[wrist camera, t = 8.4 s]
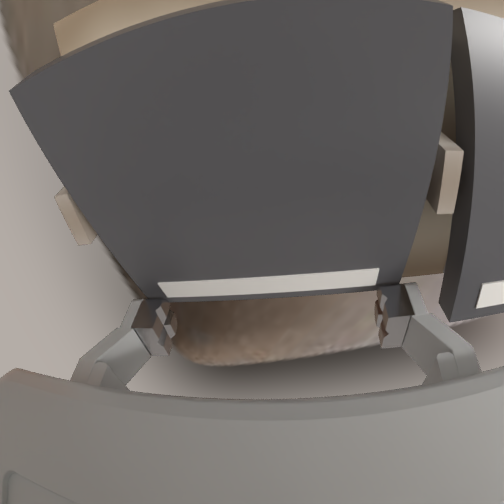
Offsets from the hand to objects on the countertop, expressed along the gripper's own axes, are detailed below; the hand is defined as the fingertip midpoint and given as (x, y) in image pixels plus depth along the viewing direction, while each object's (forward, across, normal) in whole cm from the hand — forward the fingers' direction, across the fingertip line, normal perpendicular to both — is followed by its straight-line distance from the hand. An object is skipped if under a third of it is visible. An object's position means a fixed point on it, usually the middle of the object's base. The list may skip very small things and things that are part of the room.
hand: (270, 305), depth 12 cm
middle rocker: (0, -12, -5) cm, 13 cm away
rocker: (0, 0, -5) cm, 5 cm away
